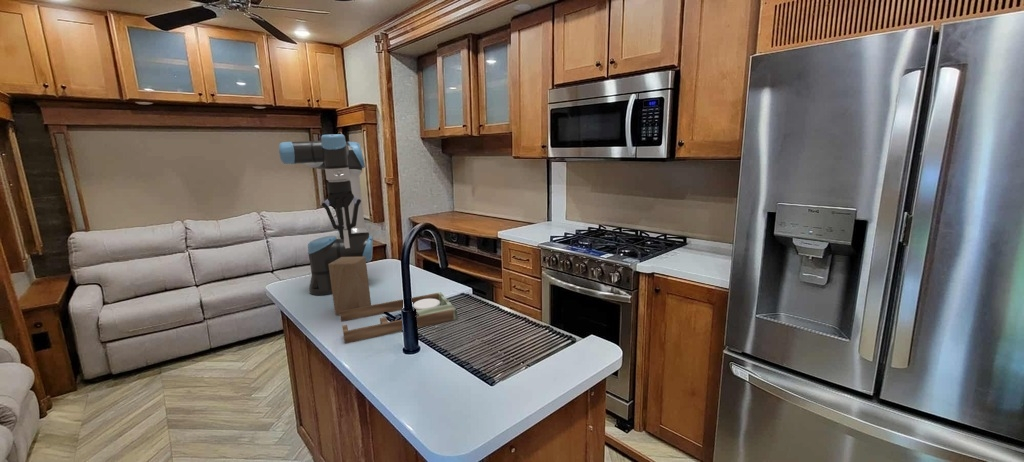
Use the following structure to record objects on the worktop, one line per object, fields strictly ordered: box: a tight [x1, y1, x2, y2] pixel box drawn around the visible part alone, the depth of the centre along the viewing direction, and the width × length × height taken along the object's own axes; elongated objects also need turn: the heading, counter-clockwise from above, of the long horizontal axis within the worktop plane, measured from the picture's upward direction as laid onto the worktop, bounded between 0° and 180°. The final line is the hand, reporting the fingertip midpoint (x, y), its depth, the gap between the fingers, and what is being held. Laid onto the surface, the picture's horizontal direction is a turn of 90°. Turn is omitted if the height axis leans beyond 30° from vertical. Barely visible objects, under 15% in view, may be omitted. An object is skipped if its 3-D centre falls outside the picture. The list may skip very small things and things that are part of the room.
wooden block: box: [329, 257, 372, 316], centre depth 161 cm, size 10×10×20 cm
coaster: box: [413, 299, 441, 311], centre depth 158 cm, size 10×10×4 cm
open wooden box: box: [339, 292, 458, 344], centre depth 151 cm, size 21×37×4 cm, turn 115°
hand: (347, 247), depth 150 cm, fingers closed
